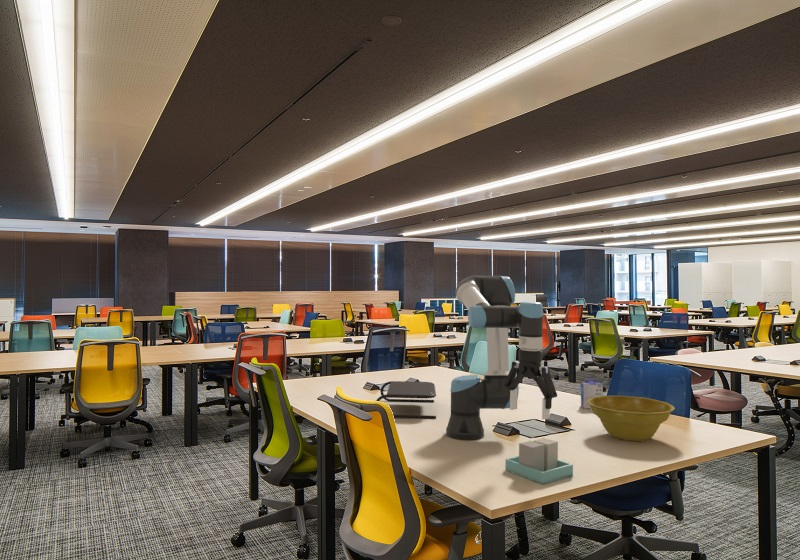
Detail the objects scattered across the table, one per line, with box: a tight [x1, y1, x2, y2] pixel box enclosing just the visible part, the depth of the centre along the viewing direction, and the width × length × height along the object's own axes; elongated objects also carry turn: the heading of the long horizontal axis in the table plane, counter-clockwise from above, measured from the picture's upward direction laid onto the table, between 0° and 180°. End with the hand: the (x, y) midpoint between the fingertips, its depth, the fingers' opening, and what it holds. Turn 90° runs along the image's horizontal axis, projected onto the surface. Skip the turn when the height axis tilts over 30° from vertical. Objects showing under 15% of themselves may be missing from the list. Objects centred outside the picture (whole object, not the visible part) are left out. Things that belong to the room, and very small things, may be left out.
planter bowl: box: [587, 395, 676, 442], centre depth 215 cm, size 32×32×13 cm
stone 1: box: [518, 440, 544, 472], centre depth 168 cm, size 6×6×9 cm
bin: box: [505, 455, 574, 485], centre depth 170 cm, size 15×14×4 cm
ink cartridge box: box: [580, 377, 604, 409], centre depth 269 cm, size 10×6×14 cm, turn 89°
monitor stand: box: [375, 380, 437, 420], centre depth 260 cm, size 37×28×11 cm
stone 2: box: [532, 437, 559, 471], centre depth 172 cm, size 6×6×9 cm
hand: (529, 413), depth 175 cm, fingers open, 13 cm apart
